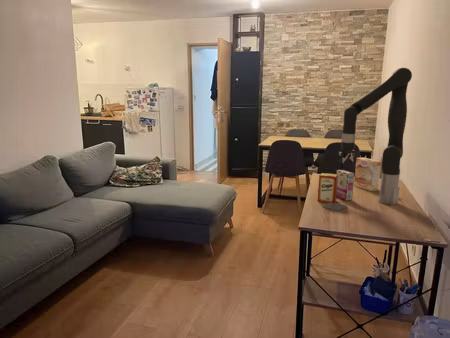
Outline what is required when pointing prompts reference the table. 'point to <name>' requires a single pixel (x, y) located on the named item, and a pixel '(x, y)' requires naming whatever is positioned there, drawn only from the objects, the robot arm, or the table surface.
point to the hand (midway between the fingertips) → (345, 168)
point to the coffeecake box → (367, 173)
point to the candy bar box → (345, 185)
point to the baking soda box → (327, 187)
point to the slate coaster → (335, 206)
